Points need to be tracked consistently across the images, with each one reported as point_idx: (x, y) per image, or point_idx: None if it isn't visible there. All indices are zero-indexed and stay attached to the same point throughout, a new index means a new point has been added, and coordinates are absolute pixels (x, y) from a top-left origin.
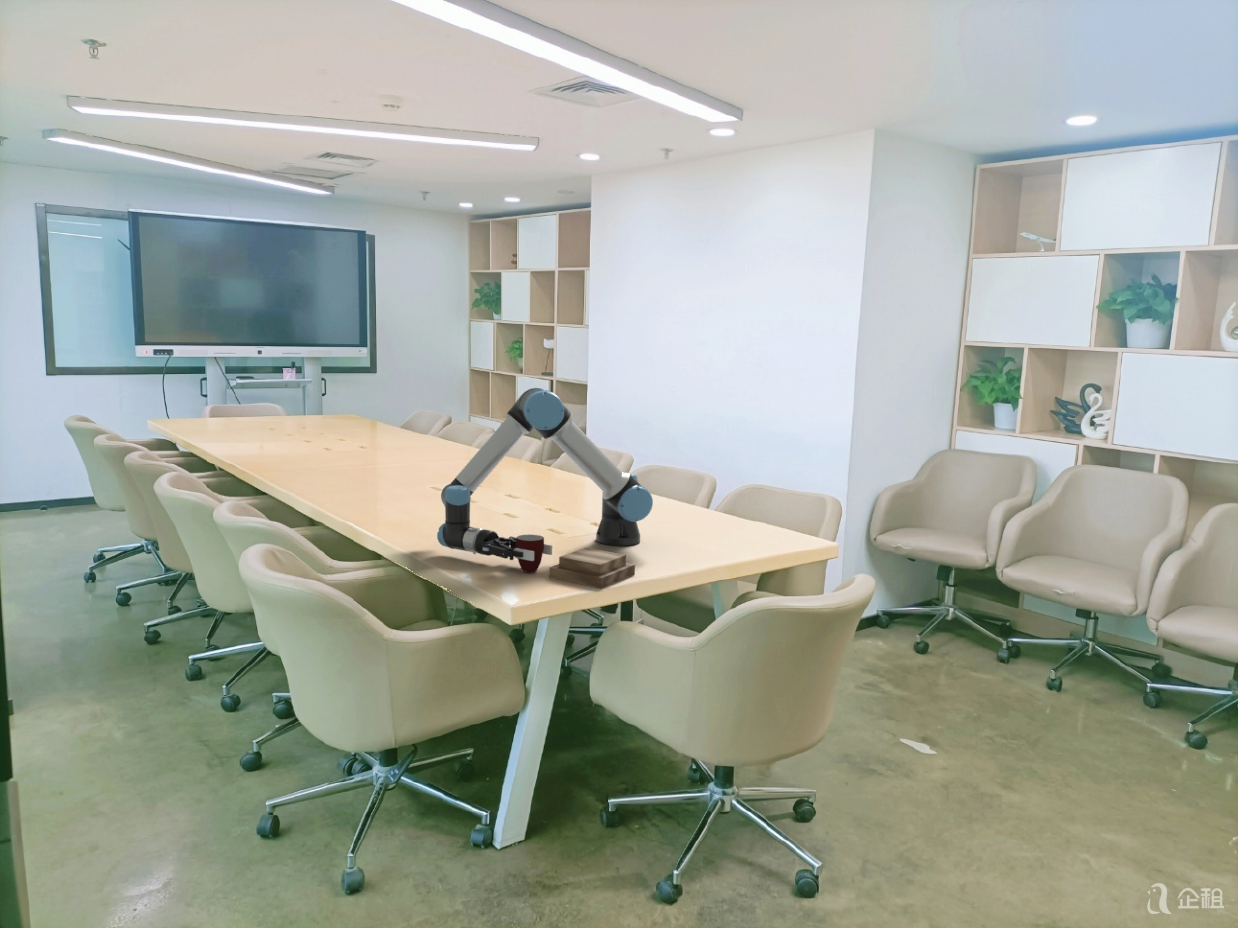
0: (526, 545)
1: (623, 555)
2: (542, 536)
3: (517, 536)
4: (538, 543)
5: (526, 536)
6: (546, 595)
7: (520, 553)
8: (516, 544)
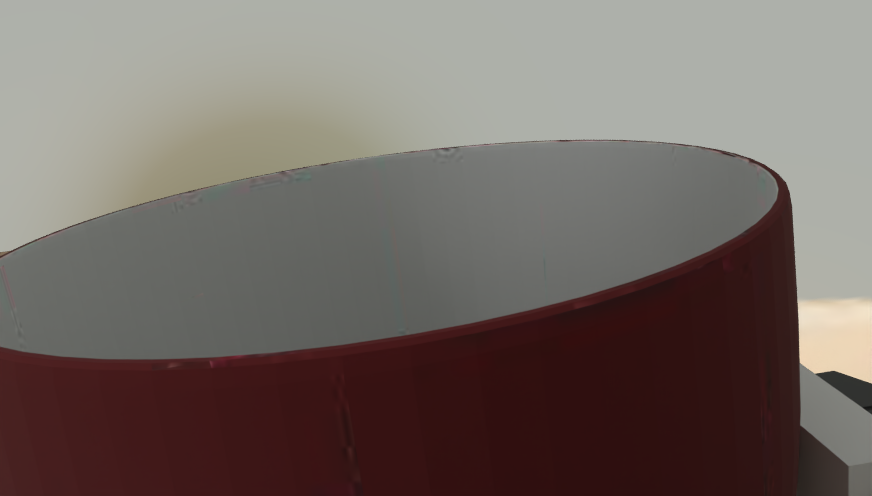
0: (671, 253)
1: (2, 253)
2: (93, 219)
3: (597, 294)
4: (448, 210)
5: (64, 427)
6: (838, 339)
7: (848, 388)
8: (789, 441)
